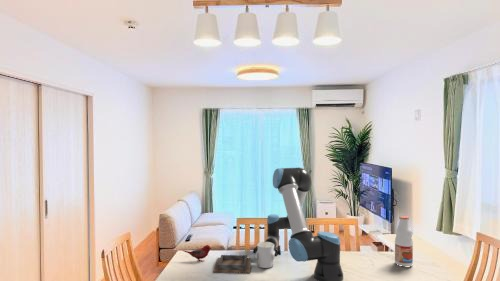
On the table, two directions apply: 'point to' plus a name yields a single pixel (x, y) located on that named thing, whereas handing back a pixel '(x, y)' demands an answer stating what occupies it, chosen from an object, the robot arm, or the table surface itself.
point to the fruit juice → (403, 243)
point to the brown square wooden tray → (232, 264)
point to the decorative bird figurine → (200, 252)
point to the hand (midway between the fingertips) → (264, 256)
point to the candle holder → (265, 254)
